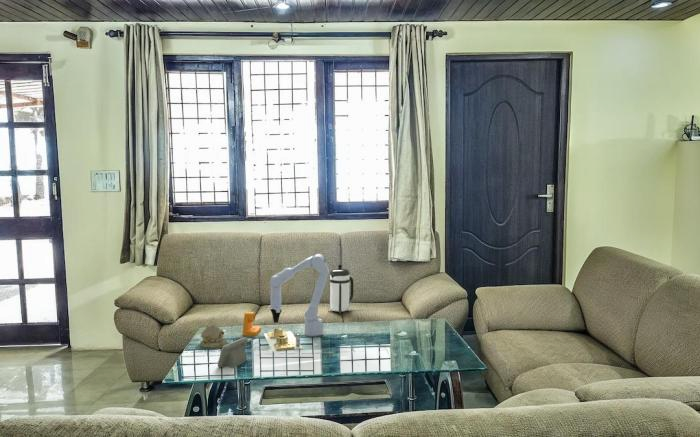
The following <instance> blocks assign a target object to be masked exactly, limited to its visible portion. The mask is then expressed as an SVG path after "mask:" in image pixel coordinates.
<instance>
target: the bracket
mask: <svg viewBox="0 0 700 437" xmlns="http://www.w3.org/2000/svg"><path fill="white" fill-rule="evenodd" d="M255 321H256V311H245V312H244V316H243V326H242V336H249V337H250V336H252V337H255V336H257V335H259V333H260V332H261V331H262V326H260V325H253V323H255Z"/></svg>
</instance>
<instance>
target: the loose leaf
mask: <svg viewBox="0 0 700 437" xmlns="http://www.w3.org/2000/svg"><path fill="white" fill-rule="evenodd" d="M286 332H287V331H285V330H284V329H283V328H281V327H280V328H273V331H267V333H268V335H269V337H270V338H276V336H278V335H286V336H287V334H286Z"/></svg>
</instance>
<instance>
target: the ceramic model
mask: <svg viewBox="0 0 700 437" xmlns="http://www.w3.org/2000/svg"><path fill="white" fill-rule="evenodd" d="M224 335H225V332H224V330H223V329H221V328H220V326H215V324H212V325H208V326H206V327H205V328H204V329H203V330H202V332H201V333H200V338H202V340H201V341H200V344H199V345H200V346H201V347H204V348H212V349H213V348H214V349H215V348H218V349H220V348H222V347H223V346H225V345H227V344H228V340H227V339H224Z"/></svg>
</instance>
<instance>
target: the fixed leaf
mask: <svg viewBox="0 0 700 437" xmlns="http://www.w3.org/2000/svg"><path fill="white" fill-rule="evenodd" d="M274 347H275V349H276V351H275V352H279V350H281V351H289V350H288V349H291V350H296V349H295V347H294V345H293V344H292V342H288V336H286V335H278V336H276V343H275V344H274Z"/></svg>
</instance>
